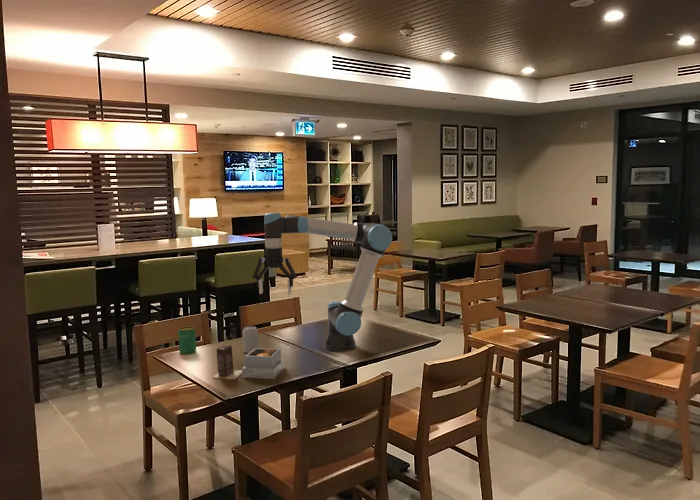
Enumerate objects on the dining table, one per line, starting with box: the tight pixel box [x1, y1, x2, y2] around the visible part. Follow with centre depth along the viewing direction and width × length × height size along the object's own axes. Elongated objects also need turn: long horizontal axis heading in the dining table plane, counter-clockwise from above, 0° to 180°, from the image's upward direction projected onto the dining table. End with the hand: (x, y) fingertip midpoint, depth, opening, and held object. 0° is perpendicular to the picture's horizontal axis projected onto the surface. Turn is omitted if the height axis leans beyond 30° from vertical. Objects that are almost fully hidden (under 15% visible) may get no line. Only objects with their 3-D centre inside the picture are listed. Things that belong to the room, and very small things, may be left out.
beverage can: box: [177, 326, 197, 355], centre depth 276 cm, size 8×8×12 cm
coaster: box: [212, 369, 242, 381], centre depth 242 cm, size 10×10×1 cm
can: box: [242, 326, 260, 354], centre depth 275 cm, size 8×8×12 cm
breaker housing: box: [241, 347, 285, 380], centre depth 244 cm, size 14×14×9 cm
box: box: [215, 344, 235, 377], centre depth 240 cm, size 6×4×12 cm
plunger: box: [257, 353, 270, 357], centre depth 243 cm, size 6×6×4 cm
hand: (275, 293), depth 256 cm, fingers open, 13 cm apart
